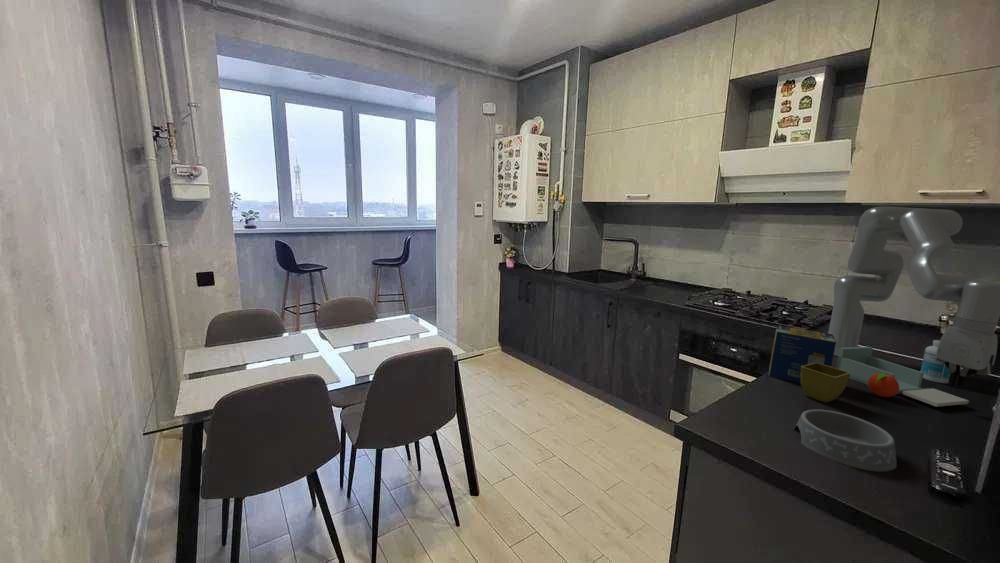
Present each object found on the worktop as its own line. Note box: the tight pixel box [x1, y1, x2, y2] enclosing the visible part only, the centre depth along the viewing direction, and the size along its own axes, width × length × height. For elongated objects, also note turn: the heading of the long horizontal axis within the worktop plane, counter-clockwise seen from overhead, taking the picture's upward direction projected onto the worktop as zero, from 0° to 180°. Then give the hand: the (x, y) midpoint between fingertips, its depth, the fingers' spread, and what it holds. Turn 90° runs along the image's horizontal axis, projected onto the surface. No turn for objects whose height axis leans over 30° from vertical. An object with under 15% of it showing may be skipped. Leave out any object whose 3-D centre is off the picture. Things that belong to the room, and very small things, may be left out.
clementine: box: [867, 373, 899, 398], centre depth 120 cm, size 8×7×7 cm
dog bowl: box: [793, 409, 898, 473], centre depth 91 cm, size 17×18×5 cm
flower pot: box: [800, 363, 850, 404], centre depth 116 cm, size 9×9×9 cm
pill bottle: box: [920, 339, 951, 384], centre depth 136 cm, size 8×7×14 cm
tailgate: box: [898, 387, 970, 408], centre depth 118 cm, size 1×13×9 cm
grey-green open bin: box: [835, 346, 924, 395], centre depth 131 cm, size 17×13×9 cm
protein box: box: [768, 324, 836, 384], centre depth 131 cm, size 10×15×16 cm
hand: (956, 387), depth 113 cm, fingers closed
